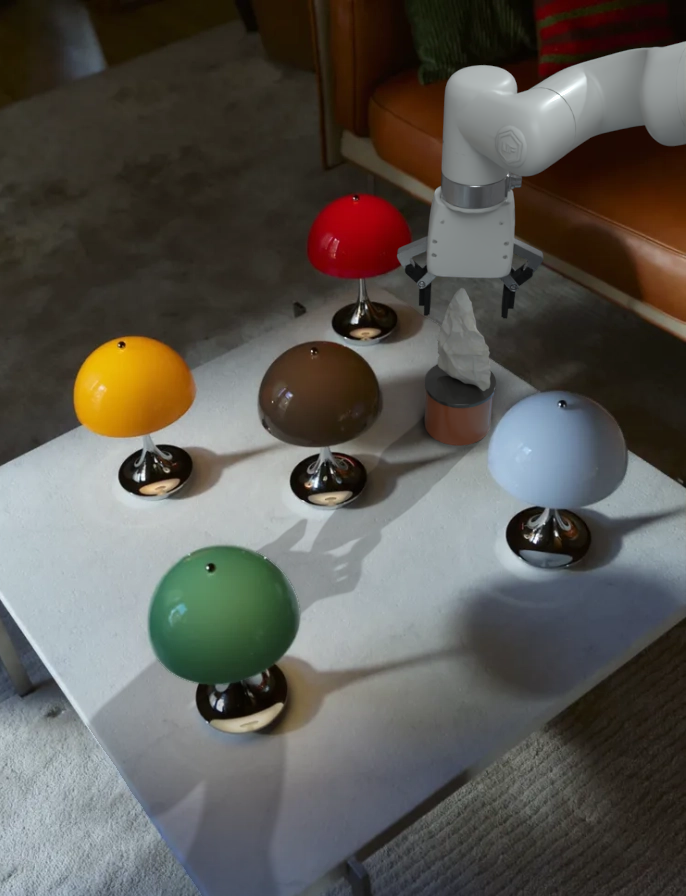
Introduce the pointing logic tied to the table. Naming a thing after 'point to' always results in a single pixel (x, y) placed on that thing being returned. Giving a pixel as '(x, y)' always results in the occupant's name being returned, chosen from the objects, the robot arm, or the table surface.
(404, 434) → the table surface
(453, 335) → the stone tool
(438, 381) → the canister
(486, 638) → the table surface
